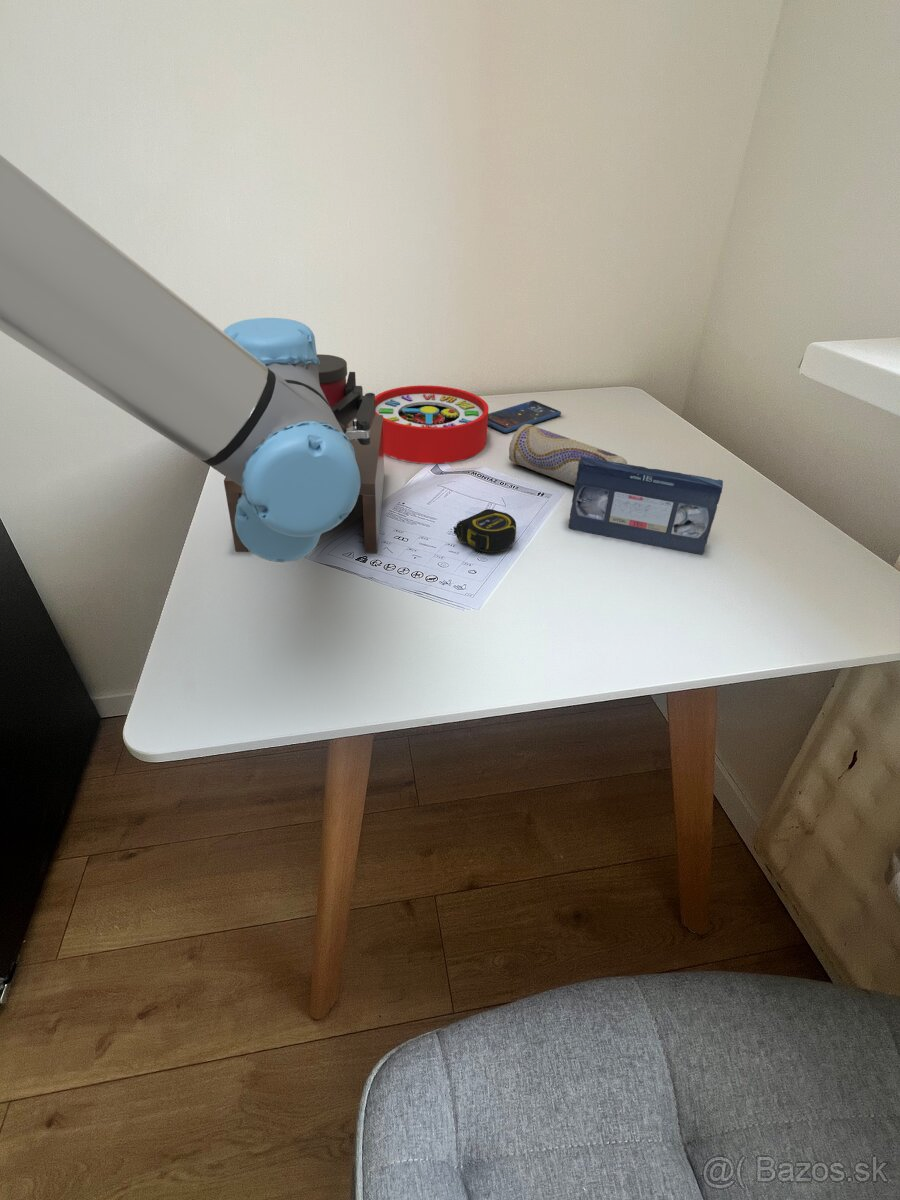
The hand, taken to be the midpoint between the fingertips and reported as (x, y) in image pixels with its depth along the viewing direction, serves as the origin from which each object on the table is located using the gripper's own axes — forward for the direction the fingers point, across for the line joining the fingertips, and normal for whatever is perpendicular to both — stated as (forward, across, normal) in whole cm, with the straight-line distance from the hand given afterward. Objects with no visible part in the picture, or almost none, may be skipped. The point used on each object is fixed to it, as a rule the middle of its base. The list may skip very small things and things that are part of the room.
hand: (325, 381), depth 90 cm
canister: (-5, 0, +6) cm, 8 cm away
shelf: (-3, +2, +17) cm, 18 cm away
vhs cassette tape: (-9, -42, +18) cm, 46 cm away
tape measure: (-11, -21, +18) cm, 30 cm away
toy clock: (+23, -14, +18) cm, 32 cm away
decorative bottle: (+6, -37, +18) cm, 41 cm away
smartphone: (+33, -31, +18) cm, 49 cm away
